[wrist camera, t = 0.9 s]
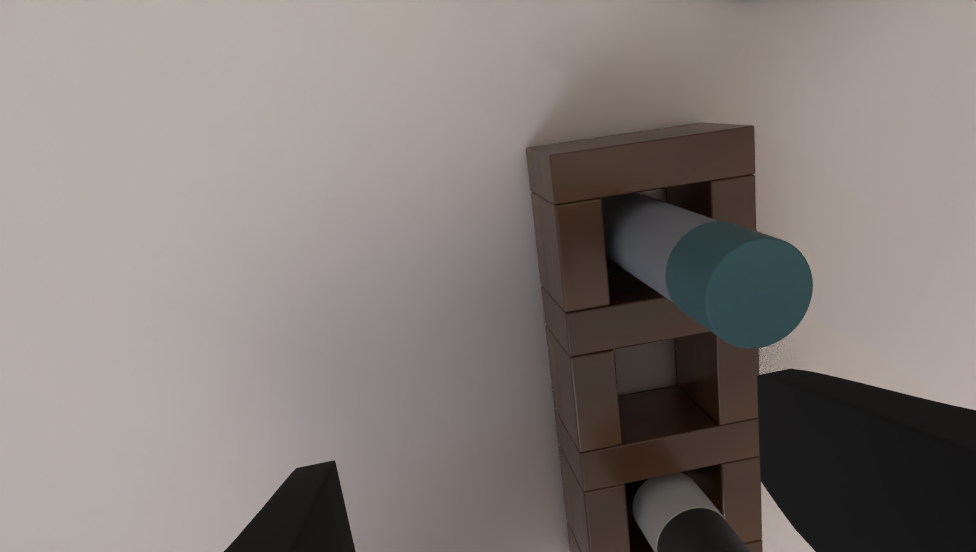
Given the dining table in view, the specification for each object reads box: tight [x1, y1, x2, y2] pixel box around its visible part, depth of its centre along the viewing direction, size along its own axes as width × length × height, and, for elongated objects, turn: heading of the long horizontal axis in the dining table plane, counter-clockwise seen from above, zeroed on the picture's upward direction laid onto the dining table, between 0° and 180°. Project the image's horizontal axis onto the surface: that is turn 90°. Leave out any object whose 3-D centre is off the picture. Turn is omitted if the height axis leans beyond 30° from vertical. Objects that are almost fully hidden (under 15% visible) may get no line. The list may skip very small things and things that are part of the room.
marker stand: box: [526, 123, 762, 552], centre depth 21 cm, size 14×6×3 cm, turn 8°
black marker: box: [624, 471, 751, 552], centre depth 19 cm, size 2×2×8 cm
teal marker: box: [602, 192, 813, 348], centre depth 17 cm, size 2×2×8 cm
